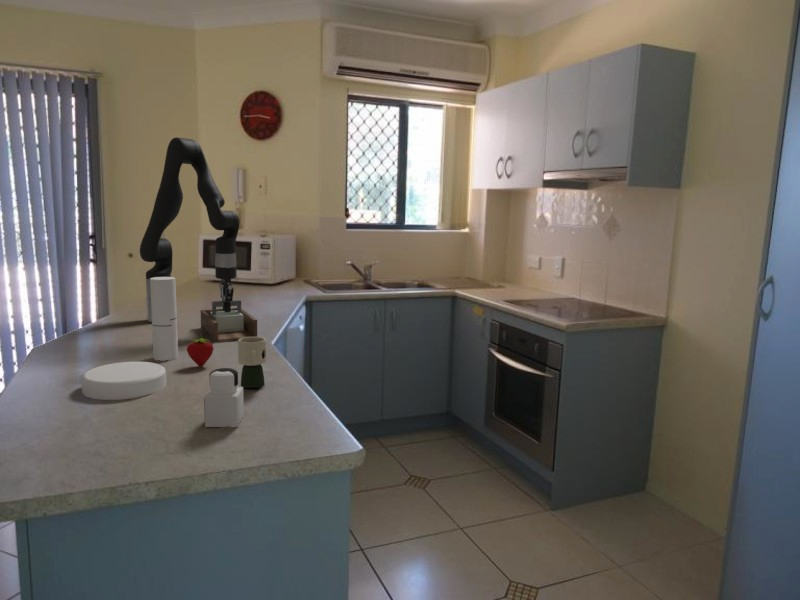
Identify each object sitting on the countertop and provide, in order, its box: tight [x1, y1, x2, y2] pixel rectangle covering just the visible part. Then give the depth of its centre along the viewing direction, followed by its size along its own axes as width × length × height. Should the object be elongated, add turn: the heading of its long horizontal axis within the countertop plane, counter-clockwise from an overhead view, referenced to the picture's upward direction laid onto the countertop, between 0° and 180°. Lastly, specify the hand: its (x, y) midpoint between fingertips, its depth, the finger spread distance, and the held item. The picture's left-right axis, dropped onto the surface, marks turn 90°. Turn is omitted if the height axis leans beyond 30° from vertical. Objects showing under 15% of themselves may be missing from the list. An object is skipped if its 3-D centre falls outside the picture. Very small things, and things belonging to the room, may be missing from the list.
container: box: [80, 361, 167, 401], centre depth 149 cm, size 20×20×5 cm
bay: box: [200, 307, 258, 343], centre depth 213 cm, size 15×26×7 cm, turn 29°
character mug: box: [237, 336, 267, 389], centre depth 152 cm, size 11×7×13 cm, turn 18°
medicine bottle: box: [203, 367, 245, 428], centre depth 127 cm, size 7×7×12 cm
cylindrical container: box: [150, 276, 179, 362], centre depth 176 cm, size 7×7×25 cm
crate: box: [210, 299, 244, 333], centre depth 214 cm, size 10×10×11 cm
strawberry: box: [186, 334, 215, 367], centre depth 169 cm, size 6×8×10 cm
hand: (226, 311), depth 213 cm, fingers closed on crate, 2 cm apart
